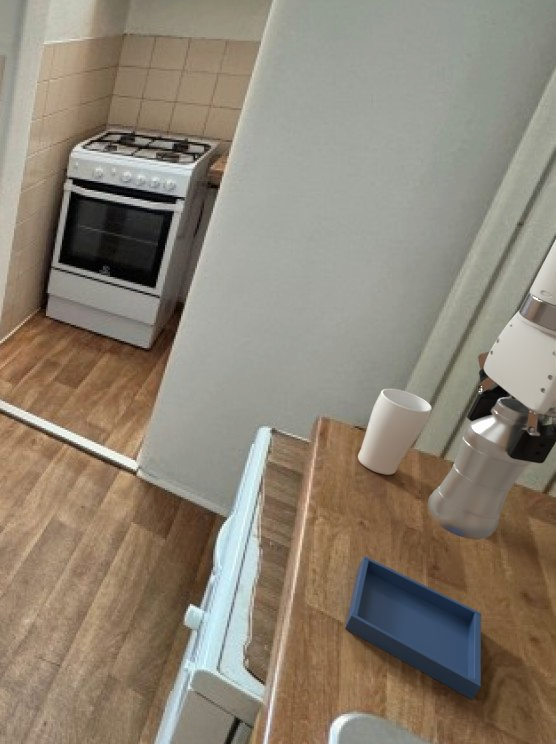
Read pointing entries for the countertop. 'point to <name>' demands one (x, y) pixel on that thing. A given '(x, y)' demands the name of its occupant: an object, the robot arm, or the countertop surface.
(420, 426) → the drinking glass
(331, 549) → the countertop surface
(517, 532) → the countertop surface
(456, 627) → the blue tray
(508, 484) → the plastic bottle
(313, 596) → the countertop surface
